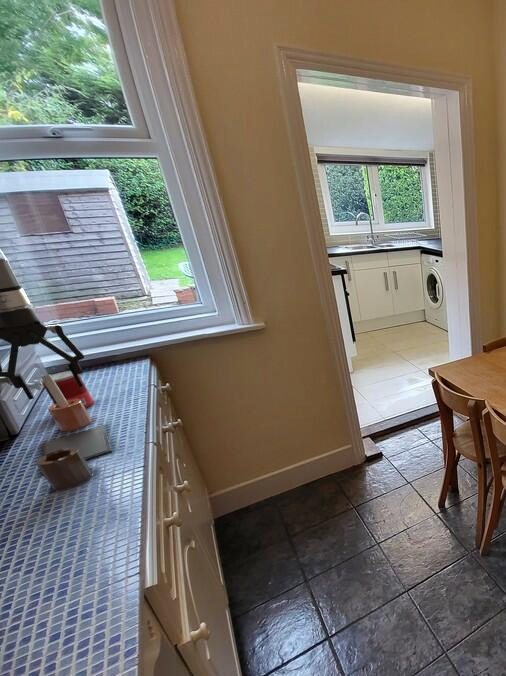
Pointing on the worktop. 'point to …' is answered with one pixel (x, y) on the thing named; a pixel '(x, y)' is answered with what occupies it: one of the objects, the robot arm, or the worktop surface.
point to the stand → (64, 468)
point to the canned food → (70, 388)
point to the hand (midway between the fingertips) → (57, 391)
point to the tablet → (82, 443)
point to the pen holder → (70, 415)
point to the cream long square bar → (54, 390)
